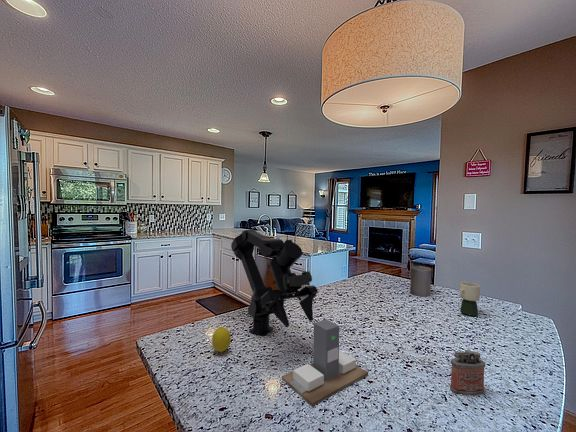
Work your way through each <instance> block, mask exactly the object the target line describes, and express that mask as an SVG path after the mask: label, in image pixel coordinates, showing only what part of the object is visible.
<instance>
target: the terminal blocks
mask: <svg viewBox="0 0 576 432" xmlns="http://www.w3.org/2000/svg"><path fill="white" fill-rule="evenodd" d="M309 364H310V363H307V364H305V365H302V366H300V367H298V368H295V369H293V370H292V372H293V379H294V380H295V381H297V382H298V383H299V384H300V385H301V386H302V387H304V388H305V389H306V390H307V391H308V392H309V391H311V390H312V389H314V388H316V387H318V386H320V385H322V384H324V375H323V374H322V373H320V372H319V371H318V370H316V369H315V368H313V367H312V366H311V365H309ZM356 364H357V360H356V359H355V358H354V357H352V356H350V355H349V354H347V353H346V352H343V351H342V350H340V349H339V371H340V372H341V373H343V374H344V373H346V372H348V371H350V370H352V369H354V368H356Z"/></svg>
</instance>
